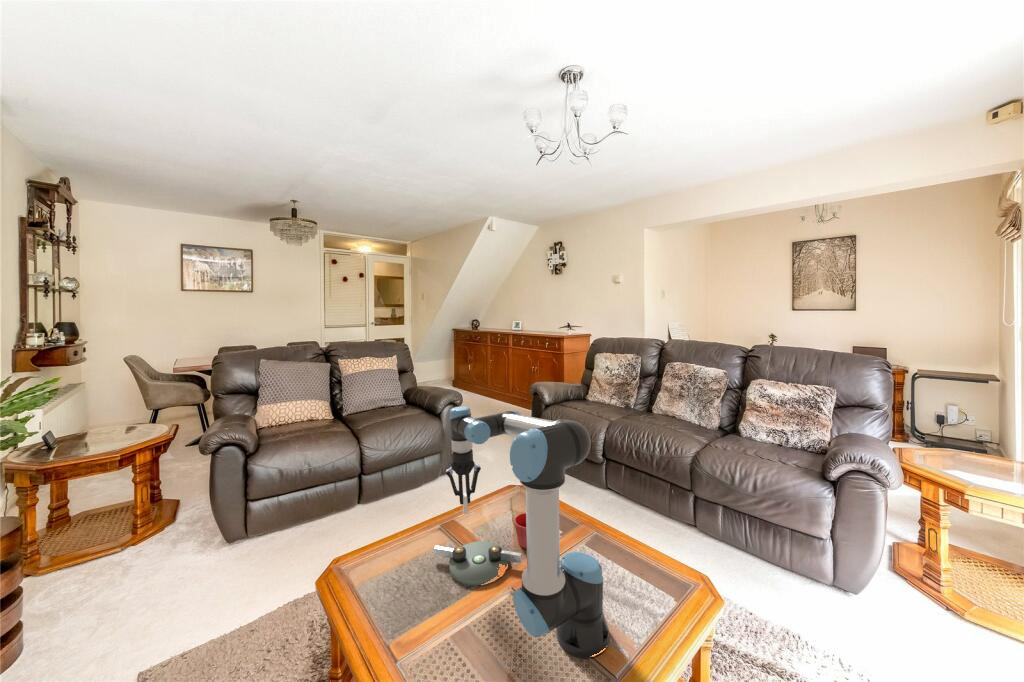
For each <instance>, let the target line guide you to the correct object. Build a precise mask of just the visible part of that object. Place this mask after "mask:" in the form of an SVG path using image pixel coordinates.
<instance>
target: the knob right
mask: <svg viewBox="0 0 1024 682" xmlns="http://www.w3.org/2000/svg"><path fill="white" fill-rule="evenodd" d="M505 550H506V549H505ZM505 550H502V548H501V547H499V546H492V547H490V548H489V550H488V553H489V560H490V561H491V562H498V561H500V560H505V561H509V562H513V563H518V564H521V563H522V561H523V554H522V552H517V551H510V550H506V551H505Z"/></svg>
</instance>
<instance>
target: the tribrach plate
mask: <svg viewBox="0 0 1024 682" xmlns="http://www.w3.org/2000/svg"><path fill="white" fill-rule="evenodd" d="M492 546H499V547H501V548H502V550H505V551H507V550H506V549H505V548H504V547H503V546H502V545H500V544H498V543H495V542H493V541H486V540H485V541H483V540H481V541H479V540H478V541H473V542H468V543H465V544H464V545H462V546H460V547H464V548H465V549H466V560H465V561H464V562H461V563H456V562H454V561H453V558H449V560H448V561H449V563H448V568H449V573H450V576H451V577H452V578H453V579H454V580H455V581H456V582H458V583H460V584H461V585H465V586H468V587H469V586H470V587H479V586H478V585H481V584H484V583H486V582H488V581H490V580H491V579H493V578H494V577H496V576H497V575H498V570H499V568H500V567H499V564H502V565H505V567H506V566H507V564H508V563H509V564H510V561H505V560H500V561H498V562H491V561H490V560H489V553H488V550H489V548H490V547H492ZM497 568H498V569H497Z"/></svg>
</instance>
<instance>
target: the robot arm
mask: <svg viewBox="0 0 1024 682" xmlns="http://www.w3.org/2000/svg"><path fill="white" fill-rule="evenodd" d="M449 425H450V426H449V427H450V439H451V458H452V462H451V466H450V467H449V468H446V469H445V474H446V475H447V477H448V478H449V481H450V484H451V487H452V491H453V493H454V496H456V497H457V496H458V497H459V504H460V505H462V512H463V514H464V515H468V514H469V507H468V506H469V505H468V504H471V495H472V494H474V493H476V489H477V488H476V487H477V484H478V483H477V481H478V477H479V474H480V471H481V469H482V468H481V465H480V464H476V463H475V461H474V452H473V444H475V445H483V444H485V443H486V442H487V441H488V440H489V439H490V438H494V437H497V436H501V435H508V436H512V437H514V439H513V440H512V442H511V444H510V445H511V446H510V450H509V463H510V465H511V466H512V468H511V469H512V473H513V474H514V476H515V478H517V479H518V480H519V482H520V485H521V486H523V487H524V488H525V513H526V532H527V548H526V568H524V570H523V571H522V573H521V587H518V588H517V589H516V590H515V591H514V592H513V593H512V602H513V606H514V608H515V610H514V611H515V612H516V615H517V617H518V619H519V621H520V623H521V625H522V626H523V628H524V630H526V631H527V633H528V634H529V635H530V636H532V637H533V638H541V637H542V636H544V635H546V634H549V633H550V632H552V631H553V630H556V632H555V634H556V639H557V641H558V644H559V645H560V647H561V648H562V649H563V650H564V651H565V652H567V653H568V654H570V655H571V656H573V657H577V658H579V659H580V658H581V659H590V658H589V657H590V656H592V655H594V654H597V653H599V652H600V651H601V650H603V649H604V648H606V646H607V645H608V646H609V644H610V630H609V625H608V623H607V620H606V617H605V613H604V611H603V609H604V576H603V568H602V565H601V563H600V562H599V561H598V560H597V559H596V558H595V557H594V556H592V555H590V554H588V553H585V552H581V551H570V552H568V553H565V554H564V555H563V556H562V557H561V559H560V488H561V487H563V486H564V484H566V483H565V482H566V474H565V473H566V469H569V468H571V467H573V466H577V465H579V464H581V463H583V461H585V459H586V458H587V456H588V455H589V454H590V450H591V445H592V444H591V443H592V442H591V441H592V440H591V436H590V433H589V431H588V430H587V428H586V427H585V426H584V424H581V423H580V422H578V421H576V420H571V419H564V418H559V419H556V420H551V419H545V418H540V417H539V418H538V417H534V416H528V415H523V414H522V413H520V412H519V411H518V410H506V411H503V412H500V413H499V412H498V413H495V414H491V415H484V416H481V417H473V416H472V413H471V408H470V407H468V406H455V407H453V408H451V409H450V411H449ZM472 471H473V475H472V481H471V483H470V473H472ZM453 473H455V474H456V476H457V478H458V489H457V486H456V482H455V480H454V479H455V478H454V476H453ZM463 476H464V479H465V492H464V488H463V487H464V486H463ZM470 484H471V485H470ZM560 560H561V561H560Z"/></svg>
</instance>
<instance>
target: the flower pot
mask: <svg viewBox="0 0 1024 682" xmlns="http://www.w3.org/2000/svg"><path fill="white" fill-rule="evenodd" d="M513 521H514V526H515V532H516V537H517V541H518V545H519V546H520V547H522V548H524V549H527V532H526V512H523V513H520V514H517V515H516V517H515V518H514V520H513Z"/></svg>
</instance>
